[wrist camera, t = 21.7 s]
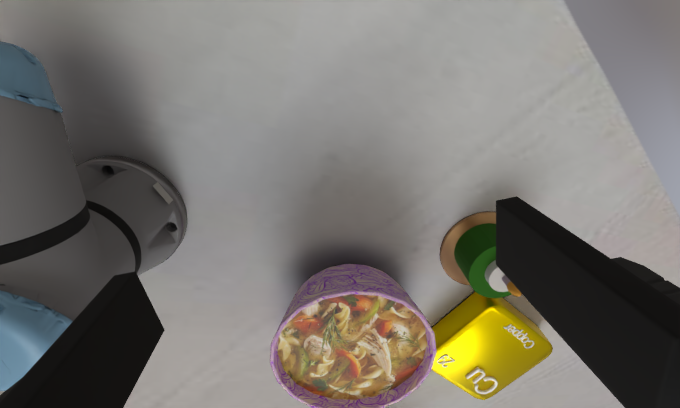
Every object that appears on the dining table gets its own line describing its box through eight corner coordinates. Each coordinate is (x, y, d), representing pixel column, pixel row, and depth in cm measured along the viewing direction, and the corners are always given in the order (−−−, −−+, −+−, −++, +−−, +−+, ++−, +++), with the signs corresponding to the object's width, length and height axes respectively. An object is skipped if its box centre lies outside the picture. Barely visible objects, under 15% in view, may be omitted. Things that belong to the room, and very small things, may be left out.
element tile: (542, 329, 56) (561, 353, 52) (473, 381, 61) (484, 406, 56) (484, 282, 52) (498, 303, 48) (413, 341, 56) (420, 366, 52)
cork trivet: (465, 296, 53) (466, 298, 52) (424, 244, 49) (424, 245, 48) (537, 254, 50) (539, 256, 50) (499, 194, 46) (501, 196, 46)
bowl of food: (337, 363, 58) (340, 434, 47) (252, 289, 51) (233, 352, 40) (439, 301, 53) (467, 363, 43) (360, 210, 46) (371, 258, 36)
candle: (452, 228, 47) (483, 271, 38) (513, 218, 47) (558, 259, 38) (455, 277, 51) (483, 327, 42) (511, 268, 50) (552, 316, 41)
